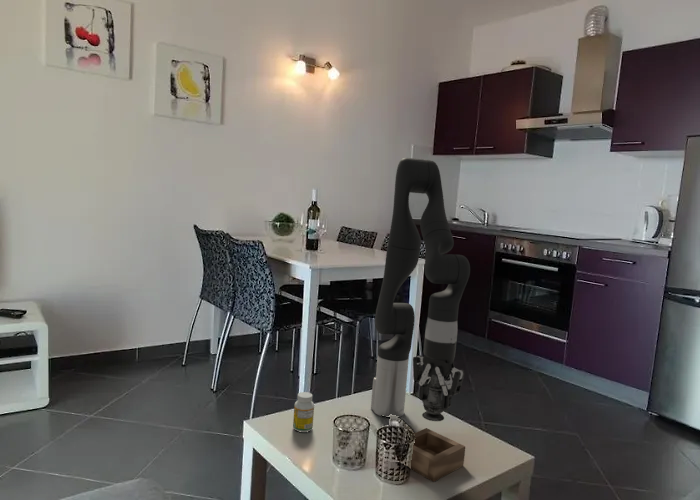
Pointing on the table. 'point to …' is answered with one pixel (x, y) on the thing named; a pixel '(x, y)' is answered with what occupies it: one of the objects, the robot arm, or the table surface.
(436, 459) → the walnut holder
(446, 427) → the table surface
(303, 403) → the supplement bottle
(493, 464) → the table surface
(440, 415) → the dark grey chess piece
